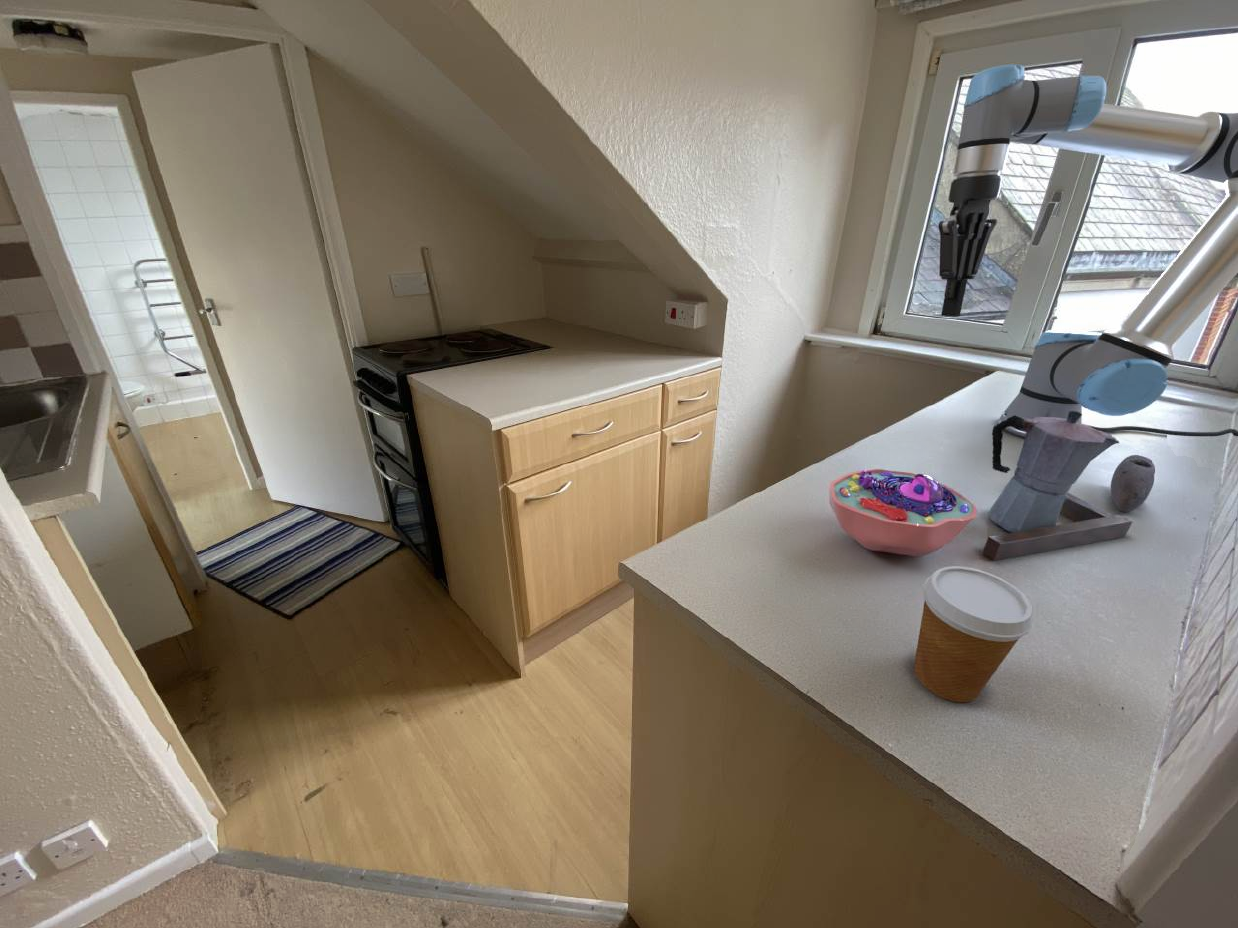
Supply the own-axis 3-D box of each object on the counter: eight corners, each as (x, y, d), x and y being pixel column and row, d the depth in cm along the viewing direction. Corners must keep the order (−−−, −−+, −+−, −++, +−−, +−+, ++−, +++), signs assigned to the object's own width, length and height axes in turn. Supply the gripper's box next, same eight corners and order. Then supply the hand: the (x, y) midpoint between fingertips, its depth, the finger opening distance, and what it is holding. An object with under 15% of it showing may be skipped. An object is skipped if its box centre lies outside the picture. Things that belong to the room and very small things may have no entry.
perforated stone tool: (1138, 523, 87) (1158, 486, 84) (1098, 511, 90) (1115, 475, 87) (1145, 492, 97) (1162, 458, 94) (1108, 483, 100) (1124, 449, 97)
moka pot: (1085, 550, 80) (1146, 428, 71) (970, 531, 84) (1014, 414, 75) (1060, 518, 88) (1112, 405, 79) (957, 502, 92) (994, 394, 84)
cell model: (805, 511, 89) (817, 450, 84) (925, 514, 89) (944, 453, 84) (839, 574, 74) (857, 504, 69) (984, 578, 74) (1012, 509, 69)
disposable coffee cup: (881, 647, 62) (907, 564, 57) (959, 644, 62) (993, 562, 57) (928, 718, 53) (964, 628, 48) (1018, 714, 54) (1064, 625, 49)
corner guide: (1025, 486, 98) (1031, 472, 97) (1124, 537, 84) (1133, 521, 82) (908, 503, 92) (913, 488, 91) (993, 560, 77) (1000, 544, 76)
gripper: (979, 179, 98) (953, 311, 107) (931, 178, 93) (909, 317, 102) (1023, 173, 91) (991, 314, 100) (974, 173, 86) (946, 321, 95)
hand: (950, 315), depth 101 cm, fingers closed
